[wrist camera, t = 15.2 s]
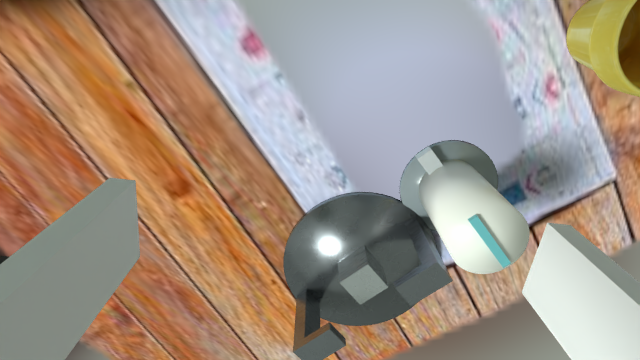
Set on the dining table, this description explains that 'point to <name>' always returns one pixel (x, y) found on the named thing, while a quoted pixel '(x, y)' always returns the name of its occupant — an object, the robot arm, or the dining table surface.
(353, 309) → the grey hook stand
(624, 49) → the plant pot
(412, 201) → the coaster
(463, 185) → the white teal-striped cylinder
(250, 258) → the dining table surface
